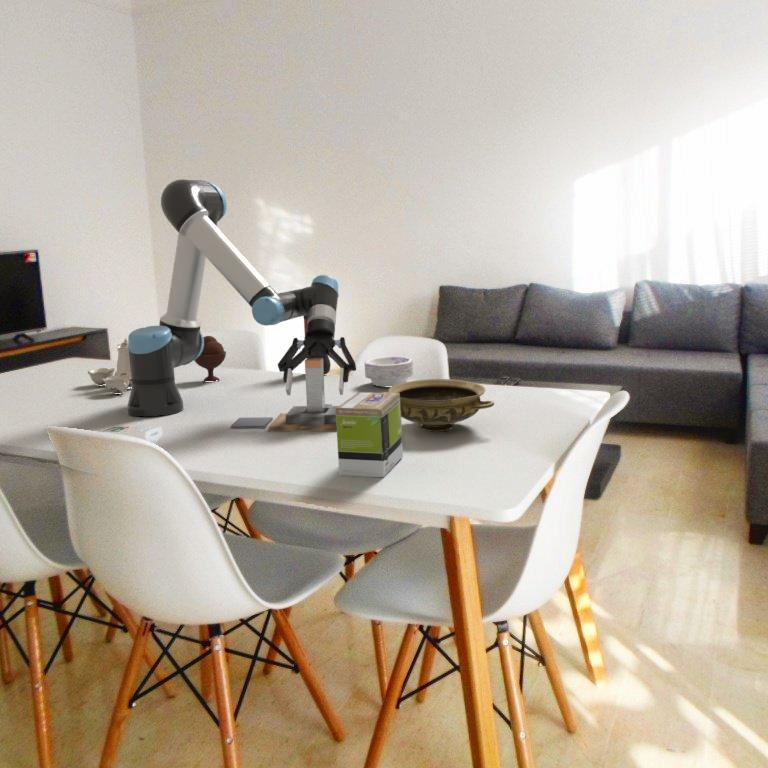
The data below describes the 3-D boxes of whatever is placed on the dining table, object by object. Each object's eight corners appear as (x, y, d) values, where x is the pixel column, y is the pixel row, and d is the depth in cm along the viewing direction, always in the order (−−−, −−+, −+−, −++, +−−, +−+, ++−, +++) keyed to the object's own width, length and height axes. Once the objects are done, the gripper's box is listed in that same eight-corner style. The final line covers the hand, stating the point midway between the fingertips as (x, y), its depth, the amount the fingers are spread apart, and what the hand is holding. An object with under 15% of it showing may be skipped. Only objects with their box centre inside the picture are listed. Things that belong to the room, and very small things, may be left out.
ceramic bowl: (360, 432, 201) (359, 393, 199) (406, 411, 222) (405, 375, 220) (473, 446, 187) (473, 403, 185) (511, 422, 207) (511, 383, 205)
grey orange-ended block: (307, 426, 209) (304, 360, 206) (310, 422, 213) (307, 357, 210) (323, 426, 209) (320, 360, 206) (325, 422, 213) (322, 357, 210)
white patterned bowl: (355, 386, 258) (354, 361, 256) (386, 378, 269) (386, 354, 267) (392, 392, 248) (391, 366, 246) (423, 383, 259) (422, 358, 257)
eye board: (268, 431, 205) (268, 417, 205) (280, 417, 219) (280, 404, 218) (355, 430, 203) (355, 416, 203) (362, 417, 217) (361, 404, 216)
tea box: (360, 455, 182) (358, 390, 179) (403, 457, 179) (402, 392, 177) (337, 475, 168) (334, 405, 165) (384, 479, 165) (382, 407, 162)
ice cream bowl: (187, 382, 272) (184, 337, 269) (212, 376, 281) (209, 333, 278) (210, 385, 266) (206, 339, 263) (234, 379, 275) (231, 335, 272)
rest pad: (230, 428, 209) (230, 426, 209) (239, 419, 218) (239, 417, 218) (264, 428, 209) (264, 425, 208) (272, 419, 217) (272, 417, 217)
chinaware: (82, 390, 272) (71, 342, 267) (129, 378, 281) (120, 331, 277) (115, 403, 250) (104, 351, 246) (165, 390, 260) (155, 339, 256)
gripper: (368, 333, 221) (364, 399, 209) (278, 334, 223) (268, 400, 212) (366, 316, 215) (361, 383, 203) (272, 317, 217) (263, 384, 205)
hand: (314, 392), depth 207 cm, fingers open, 13 cm apart
